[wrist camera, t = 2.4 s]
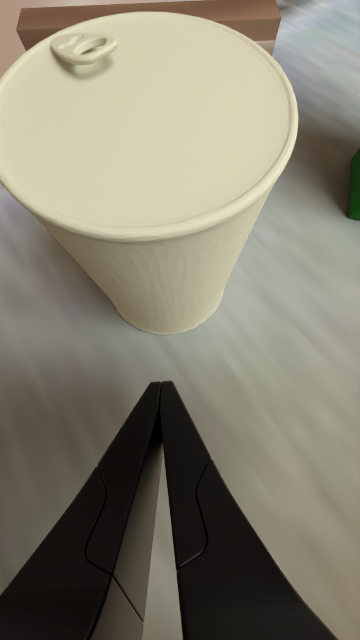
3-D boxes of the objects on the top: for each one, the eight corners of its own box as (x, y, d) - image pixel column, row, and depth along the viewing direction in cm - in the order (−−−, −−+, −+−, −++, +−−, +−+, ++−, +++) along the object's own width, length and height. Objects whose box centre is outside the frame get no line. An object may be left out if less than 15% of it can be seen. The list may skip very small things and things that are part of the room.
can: (167, 211, 19) (147, -46, 8) (248, 278, 17) (381, 77, 6) (85, 279, 17) (-103, 80, 6) (165, 361, 16) (120, 309, 4)
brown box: (250, 132, 22) (281, 20, 15) (68, 141, 21) (15, 31, 15) (246, 113, 22) (274, -3, 15) (70, 122, 22) (21, 8, 15)
